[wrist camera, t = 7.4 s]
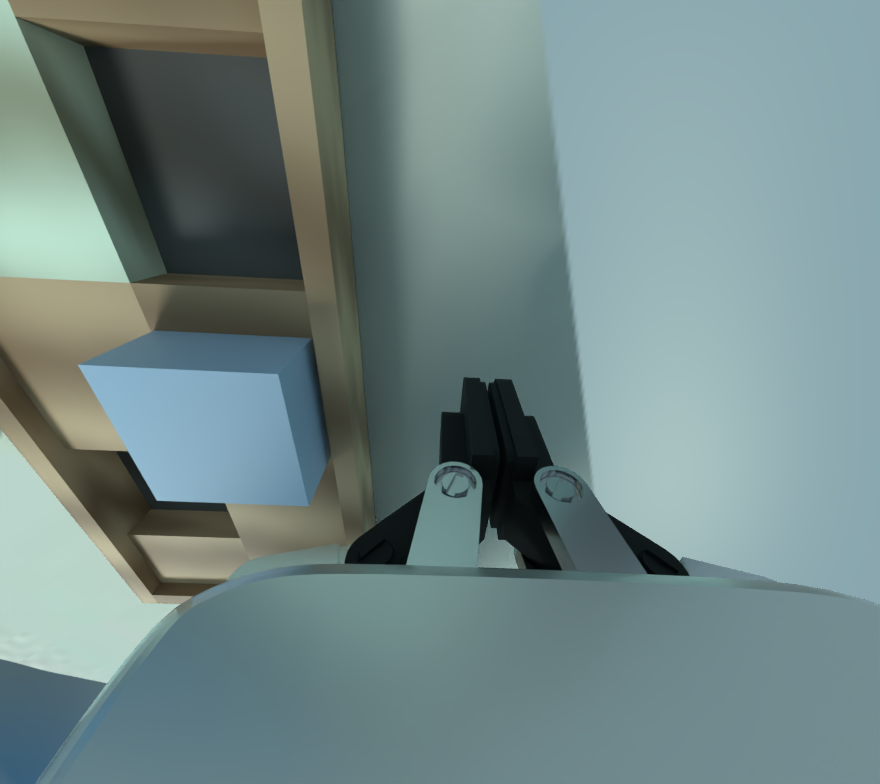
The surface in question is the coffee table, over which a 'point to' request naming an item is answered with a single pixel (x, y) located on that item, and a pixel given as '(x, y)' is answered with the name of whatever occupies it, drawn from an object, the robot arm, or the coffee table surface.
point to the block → (217, 415)
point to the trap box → (173, 252)
